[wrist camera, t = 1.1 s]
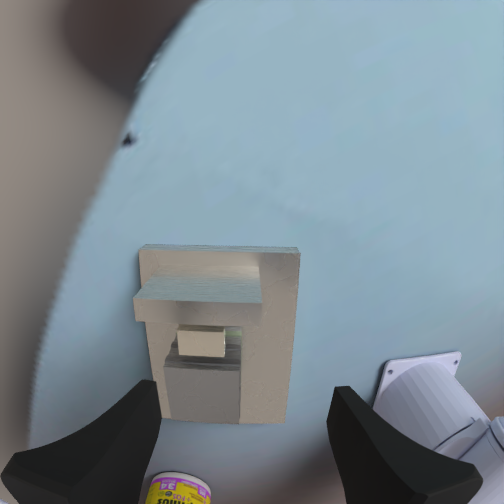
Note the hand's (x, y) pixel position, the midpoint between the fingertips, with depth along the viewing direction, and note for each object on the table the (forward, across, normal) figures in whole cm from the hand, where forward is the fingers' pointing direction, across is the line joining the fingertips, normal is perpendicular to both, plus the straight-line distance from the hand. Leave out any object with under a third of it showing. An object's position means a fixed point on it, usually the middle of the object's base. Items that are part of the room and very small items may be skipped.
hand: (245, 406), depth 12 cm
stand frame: (+10, +2, +3) cm, 11 cm away
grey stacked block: (+9, +2, +3) cm, 10 cm away
